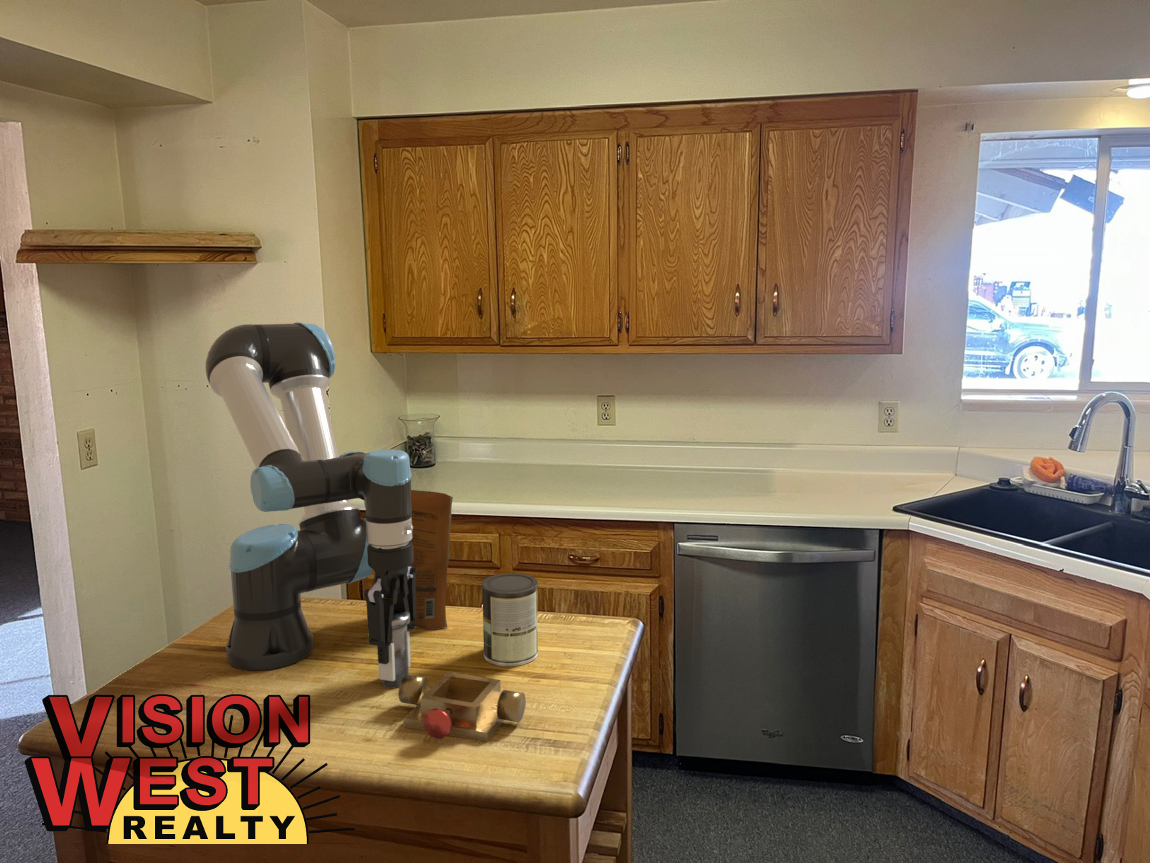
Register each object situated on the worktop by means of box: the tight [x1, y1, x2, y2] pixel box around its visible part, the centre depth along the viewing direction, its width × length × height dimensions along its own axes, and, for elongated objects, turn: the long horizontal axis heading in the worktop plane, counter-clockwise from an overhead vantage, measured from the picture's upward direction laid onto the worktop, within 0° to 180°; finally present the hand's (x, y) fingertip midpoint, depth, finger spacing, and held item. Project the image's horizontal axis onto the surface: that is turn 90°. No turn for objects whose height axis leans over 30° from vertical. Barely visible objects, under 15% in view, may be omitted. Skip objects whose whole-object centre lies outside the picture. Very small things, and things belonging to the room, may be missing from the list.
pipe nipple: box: [381, 610, 410, 689], centre depth 140 cm, size 6×6×12 cm
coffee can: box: [481, 572, 539, 667], centre depth 150 cm, size 10×10×14 cm
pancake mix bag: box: [363, 489, 454, 630], centre depth 163 cm, size 7×19×28 cm, turn 67°
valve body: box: [398, 671, 527, 743], centre depth 128 cm, size 20×15×5 cm
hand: (395, 672), depth 140 cm, fingers closed on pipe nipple, 5 cm apart
